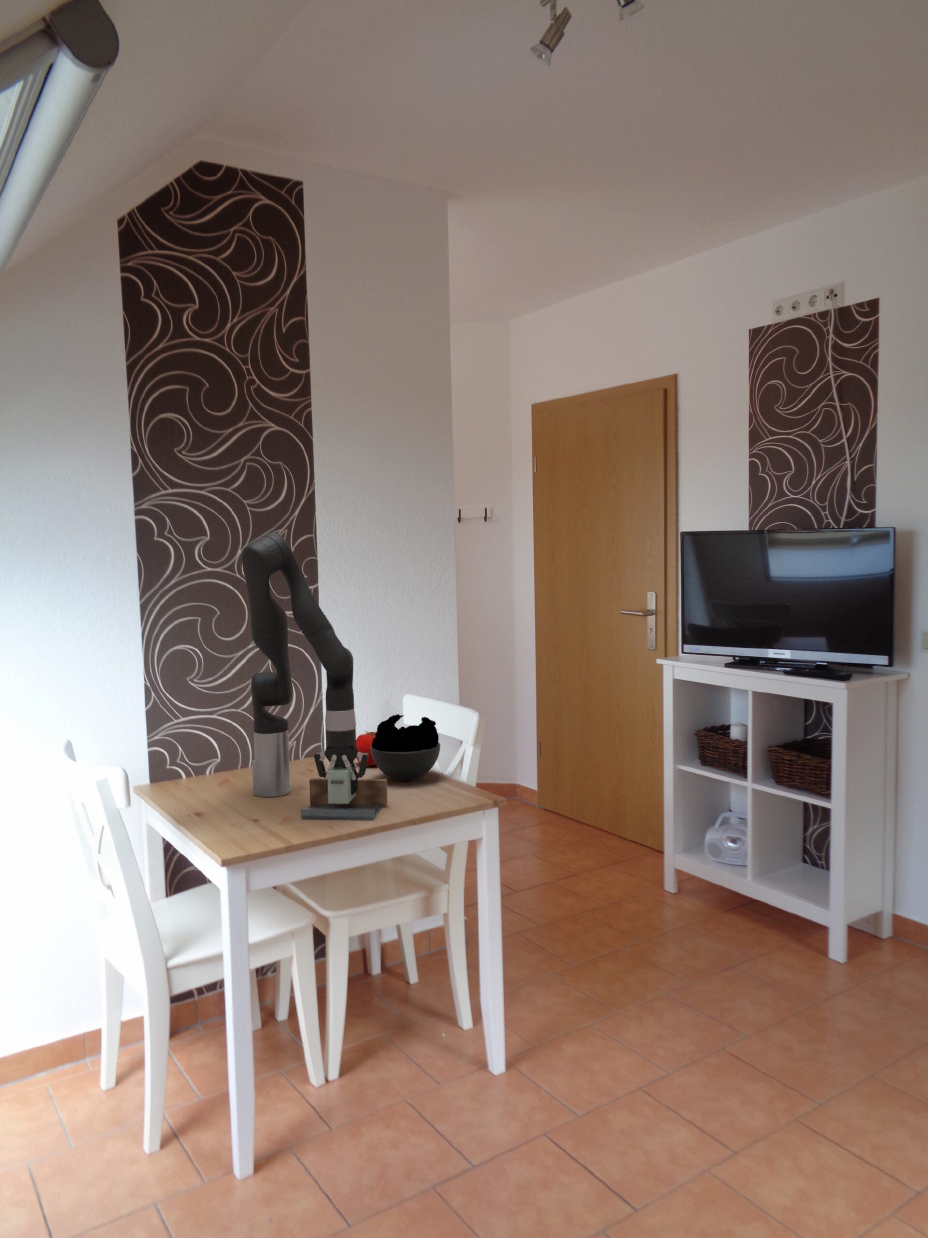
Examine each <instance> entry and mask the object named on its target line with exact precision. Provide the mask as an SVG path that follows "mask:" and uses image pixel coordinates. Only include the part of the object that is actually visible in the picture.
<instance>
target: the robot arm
mask: <svg viewBox="0 0 928 1238" xmlns="http://www.w3.org/2000/svg"><path fill="white" fill-rule="evenodd" d="M241 565H242V571H243V574H244V575H243V576H244V581H245V585H246V589H247V590H246V591H247V595H248V603H249V612H250V613H249V615H250V629H251V630H250V631H251V638H252V641H253V643H254V645H255V646H256V647H257V648H258V649H259V651H261V653H262V654H263V655H264V656H265V657H266V658H267V659H268V660H269V661H270V662H271V663H272V665H273V667H274V668H275V670H276V671H268V672H267V671H263V672H255V673H253V674H252V677H251V680H250V681H251V682H250V690H251V691H250V693H251V703H252V717H253V744H254V745H253V748H254V759H252V761H251V763H252V764H251V765H252V766H251V767H252V768H251V769H252V793H253V796H258V797H261V798H262V797H264V798H266V797H267V798H272V797H275V798H276V797H280V796H281V797H282V796H286V795H288V794H289V793H291V772H290V771H291V770H290V740H289V722H288V720H287V718H285V717H282V716H279V715H275V714H273V713H271V712H269V710H267V709H266V708H265V707H279V706H286V705H289V704H290V703H291V702H292V699H293V691H294V690H293V681H292V674H291V672H292V671H291V665H290V657H289V629H288V615H287V612H286V610H285V609H284V607H283V605H282V604H281V603H280V602H279V601H278V600H277V599H276V598H275V597H274V596H273V595H272V593H271V588H270V587H271V586H270V579H271V577H272V575H274V574H276V573H278V572H280V573H281V574H282V575H283V578H284V579H285V581H286V583H287V585H288V590H289V595H290V604H291V612H292V616H293V619H294V622H295V623H296V625H297V627H298V628H299V630H300V631H301V632H302V635H303V636H304V638H305V639H306V640H307V641H308V643H309V644H310V645H311V647H312V648H313V651H314V652H315V654H316V656H317V658H318V660H319V662H320V664H321V666H323V668H324V670H325V671H326V688H325V689H326V690H325V716H324V717H325V718H324V719H325V720H324V723H325V724H324V726H325V727H324V728H325V730H324V731H325V750H324V751H323V752H322V751H321V752H320V751H318V752H316V753H315V754H314V755H313V759H314V762H315V767H316V770H317V774H318V778H319V777H320V778H322V779H326V786H327V792H328V775H327V772H328V771H329V770H330V769H334V767H335V768H338V767H343V768H347V769H348V770H350V777H351V795H354V794H355V792H357V790H358V779H363V777H364V776H365V774H366V770H367V767H368V766H367V762H368V757H369V754H368V753H361V752H358V750H357V748H356V739H357V731H356V730H357V729H356V727H357V721H356V714H355V695H354V689H353V688H354V686H353V685H354V684H353V683H354V656H353V653H352V652H351V651H350V649H348V648H346V647H345V646H344V645H343V643H342V642H341V640H340V639H339V637H338V636H337V634H336V631H335V630H334V627H333V625H332V624H331V622H330V620H329V619H328V618H327V616H326V615H325V613H324V612H323V610H322V608H321V607H320V605H319V604H318V601H317V600H316V598H315V597H314V595H313V593H312V591H311V588H310V587H309V584H308V582H307V579H306V577H305V576H304V573H303V571H302V569H301V567H300V565H299V562H298V561H297V558H296V556H295V554H294V551H293V550H292V548H291V546H290V545H289V543H288V542H287V540H286V539H285V537H284V536H282V535H280V534H279V533H276V532H269V533H267V534H265V535H262V536H260V537H258V538H257V539H255V540H253V541H252V542H250V543H248V544H246V545H245V546H244V547H243V548H242V551H241ZM356 757H358V758H359V761H360V762H361V763H360V762H359V770H358V771H357V770H356V764H355V763H354V762H355V760H356ZM325 758H326V759H327V761H328V762H329V764H328V768H327V771H326V767H325V763H324V761H325Z"/></svg>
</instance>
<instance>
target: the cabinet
mask: <svg viewBox="0 0 928 1238" xmlns="http://www.w3.org/2000/svg"><path fill="white" fill-rule="evenodd" d="M326 772H327V775H328V803H331V804H348V803H349V802H350V801H351V800H352V799H353V798H354V797H355V796H356V792H355V794H354V795H351V777H350V770H348V769H347V768H343V767H338V768H335V767H334V769H330V770H329V771H328V770H327V771H326Z"/></svg>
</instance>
